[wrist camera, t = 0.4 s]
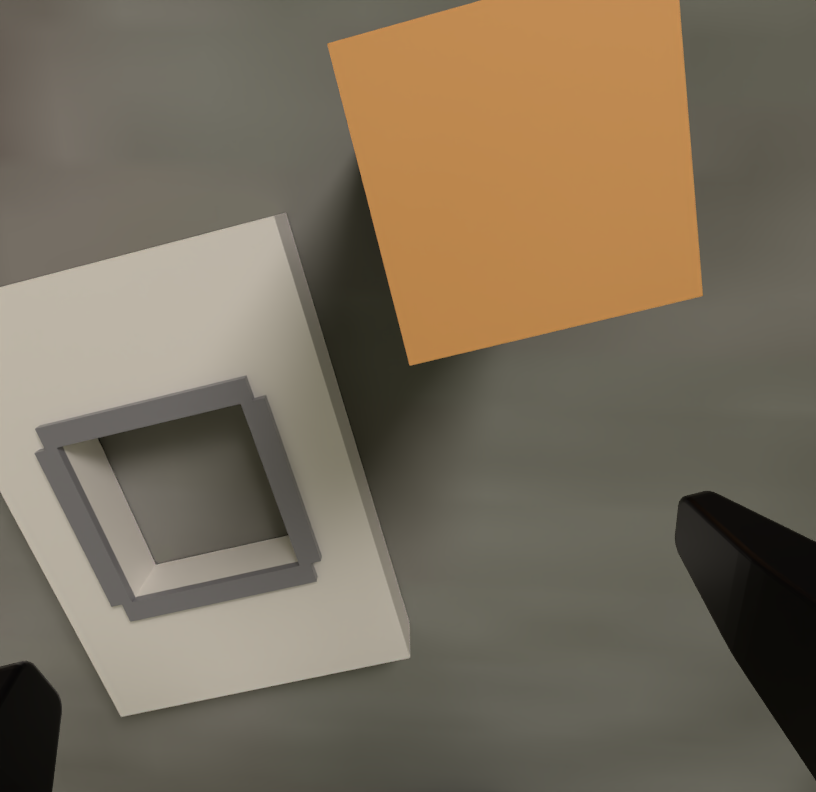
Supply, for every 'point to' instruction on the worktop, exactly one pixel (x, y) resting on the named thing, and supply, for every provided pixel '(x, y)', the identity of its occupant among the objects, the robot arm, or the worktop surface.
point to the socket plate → (176, 398)
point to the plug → (524, 166)
